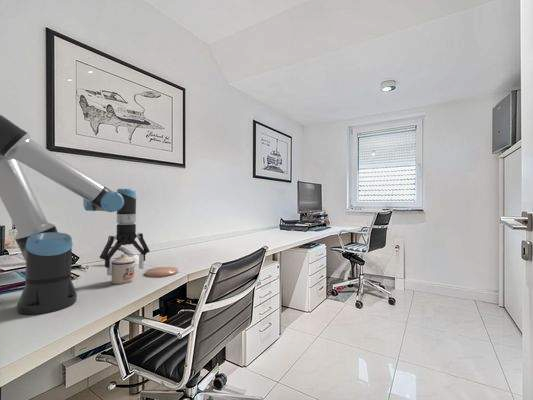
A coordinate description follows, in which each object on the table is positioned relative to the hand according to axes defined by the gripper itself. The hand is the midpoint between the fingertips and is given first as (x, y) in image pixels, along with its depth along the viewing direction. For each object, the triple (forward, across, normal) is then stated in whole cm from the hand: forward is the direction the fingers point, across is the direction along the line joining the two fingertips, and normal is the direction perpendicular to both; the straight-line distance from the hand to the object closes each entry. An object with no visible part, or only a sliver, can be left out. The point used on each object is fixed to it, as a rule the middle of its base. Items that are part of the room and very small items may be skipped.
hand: (126, 271), depth 116 cm
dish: (+4, +17, -1) cm, 17 cm away
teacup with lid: (+4, 0, 0) cm, 4 cm away
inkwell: (+4, +14, +32) cm, 35 cm away
